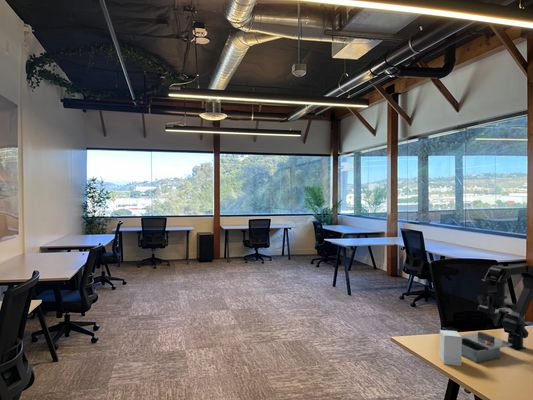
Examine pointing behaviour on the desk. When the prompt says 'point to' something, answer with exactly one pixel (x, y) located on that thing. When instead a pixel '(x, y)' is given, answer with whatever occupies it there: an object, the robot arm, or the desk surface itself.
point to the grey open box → (478, 352)
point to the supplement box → (450, 347)
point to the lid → (486, 340)
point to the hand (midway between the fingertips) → (496, 325)
